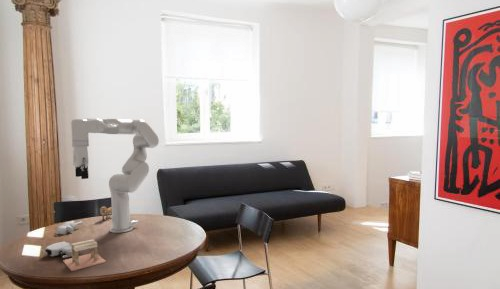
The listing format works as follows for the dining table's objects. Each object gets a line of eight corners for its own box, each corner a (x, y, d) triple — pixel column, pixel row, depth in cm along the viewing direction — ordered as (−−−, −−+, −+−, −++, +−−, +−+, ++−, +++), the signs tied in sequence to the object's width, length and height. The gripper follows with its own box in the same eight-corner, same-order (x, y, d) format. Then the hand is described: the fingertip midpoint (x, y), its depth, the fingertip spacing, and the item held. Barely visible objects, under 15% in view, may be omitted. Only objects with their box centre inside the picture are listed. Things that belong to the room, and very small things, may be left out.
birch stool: (72, 261, 160) (71, 243, 159) (93, 256, 166) (92, 239, 165) (76, 265, 155) (75, 247, 155) (98, 260, 161) (97, 242, 161)
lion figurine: (105, 222, 223) (105, 207, 222) (97, 221, 224) (97, 207, 223) (118, 215, 237) (118, 202, 237) (111, 215, 238) (110, 201, 238)
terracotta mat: (95, 253, 171) (95, 252, 171) (106, 262, 160) (106, 261, 160) (62, 261, 162) (62, 260, 162) (71, 271, 151) (71, 269, 151)
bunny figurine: (50, 228, 198) (69, 217, 213) (52, 236, 199) (70, 225, 214) (66, 229, 197) (83, 218, 211) (67, 237, 197) (84, 226, 212)
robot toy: (85, 254, 172) (62, 248, 178) (86, 245, 172) (62, 239, 178) (63, 264, 161) (39, 257, 167) (63, 254, 161) (39, 247, 166)
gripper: (67, 143, 187) (69, 176, 188) (77, 145, 174) (79, 180, 175) (83, 142, 192) (84, 174, 193) (93, 144, 179) (95, 178, 180)
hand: (82, 177), depth 184 cm, fingers open, 9 cm apart
